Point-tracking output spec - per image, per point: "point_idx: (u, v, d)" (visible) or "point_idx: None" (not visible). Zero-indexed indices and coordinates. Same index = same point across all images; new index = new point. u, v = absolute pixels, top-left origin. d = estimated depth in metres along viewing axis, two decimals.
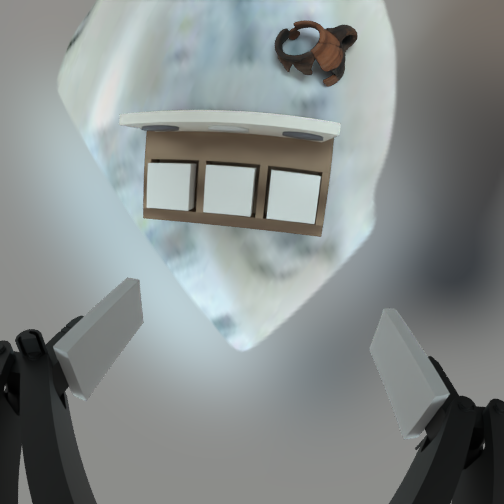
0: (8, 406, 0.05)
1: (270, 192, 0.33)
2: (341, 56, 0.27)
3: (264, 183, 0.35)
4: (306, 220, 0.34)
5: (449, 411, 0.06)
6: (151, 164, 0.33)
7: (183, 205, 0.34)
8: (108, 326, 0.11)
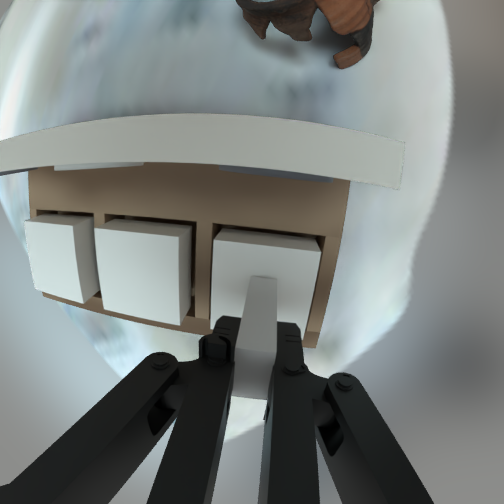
0: (146, 428, 0.07)
1: (214, 284, 0.16)
2: (369, 9, 0.11)
3: (207, 258, 0.18)
4: None
5: (273, 379, 0.08)
6: (27, 223, 0.16)
7: (75, 294, 0.17)
8: None
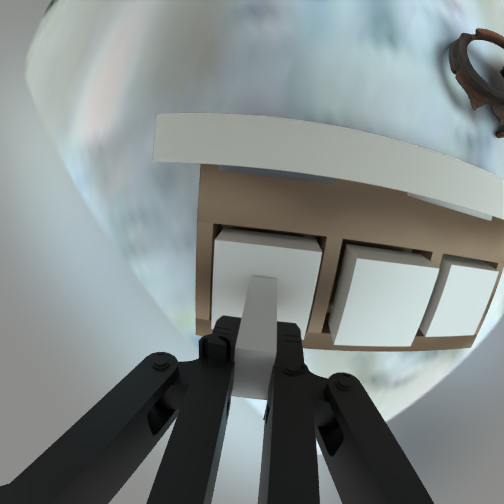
0: (146, 427, 0.07)
1: (441, 299, 0.16)
2: None
3: None
4: (468, 332, 0.17)
5: (273, 379, 0.08)
6: (224, 244, 0.15)
7: None
8: None
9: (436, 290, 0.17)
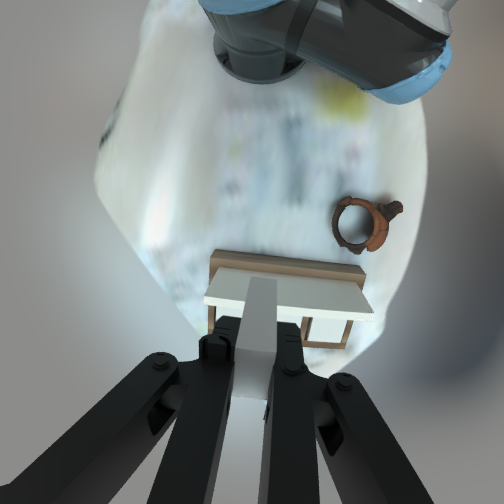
0: (146, 427, 0.07)
1: (312, 325, 0.44)
2: (386, 235, 0.39)
3: (307, 318, 0.45)
4: (335, 341, 0.45)
5: (273, 379, 0.08)
6: None
7: None
8: None
9: (311, 321, 0.45)
